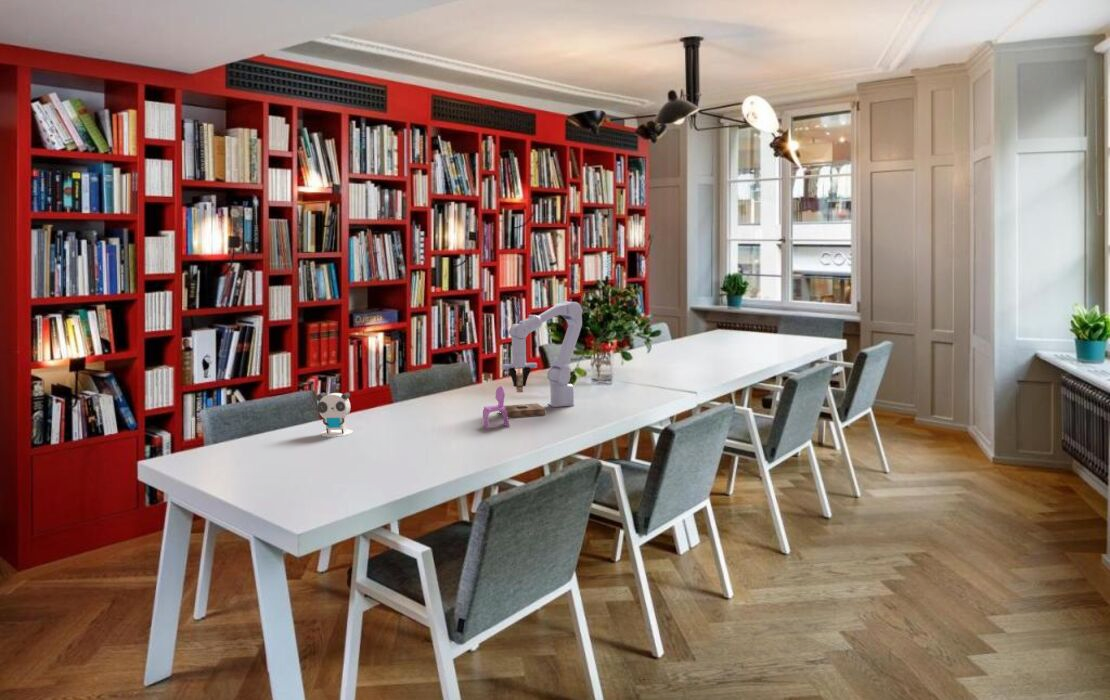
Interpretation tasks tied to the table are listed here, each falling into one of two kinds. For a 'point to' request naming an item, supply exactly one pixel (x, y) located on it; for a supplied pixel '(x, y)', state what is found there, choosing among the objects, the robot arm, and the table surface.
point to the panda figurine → (334, 413)
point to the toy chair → (496, 407)
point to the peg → (519, 383)
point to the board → (524, 410)
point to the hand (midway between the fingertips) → (519, 386)
